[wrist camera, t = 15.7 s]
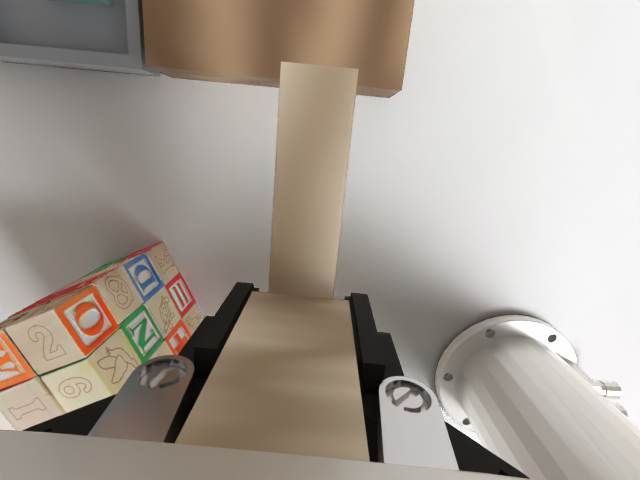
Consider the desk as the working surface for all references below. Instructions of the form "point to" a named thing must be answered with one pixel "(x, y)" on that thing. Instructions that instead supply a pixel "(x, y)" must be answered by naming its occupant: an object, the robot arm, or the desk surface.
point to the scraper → (295, 297)
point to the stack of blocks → (93, 336)
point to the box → (74, 35)
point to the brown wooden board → (278, 39)
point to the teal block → (90, 2)
